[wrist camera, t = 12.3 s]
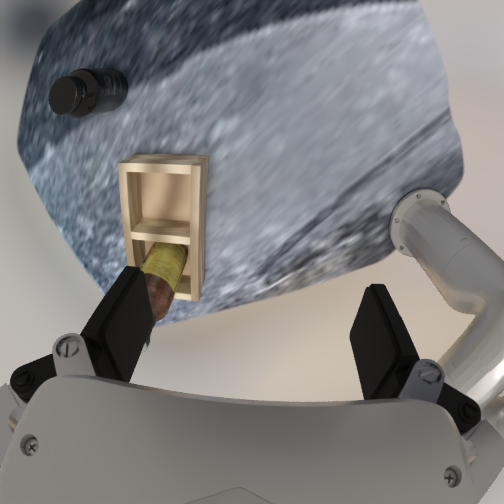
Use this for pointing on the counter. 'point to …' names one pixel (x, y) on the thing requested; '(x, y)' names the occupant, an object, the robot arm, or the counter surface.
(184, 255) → the sauce bottle
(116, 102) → the supplement bottle
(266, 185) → the counter surface
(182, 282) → the rail
